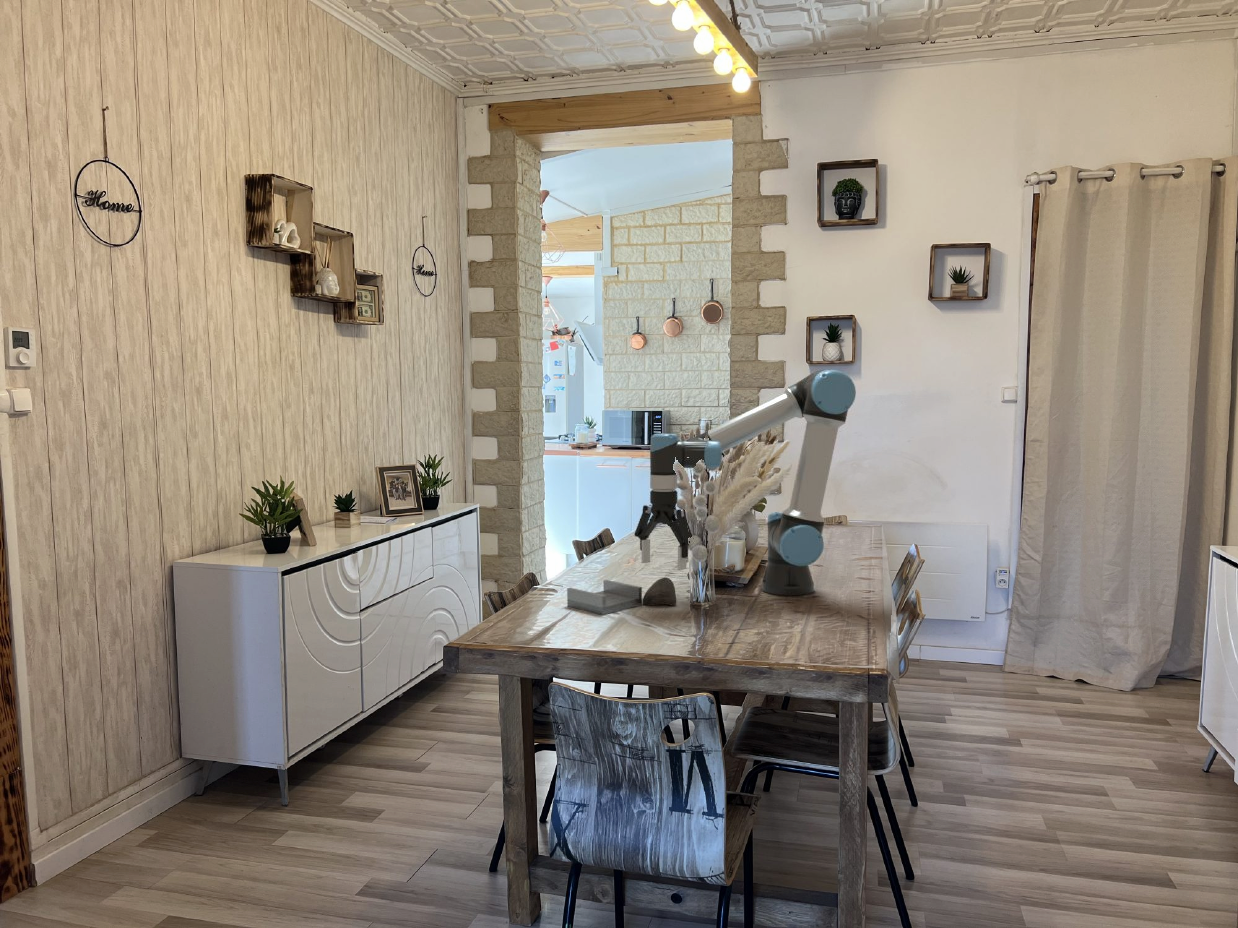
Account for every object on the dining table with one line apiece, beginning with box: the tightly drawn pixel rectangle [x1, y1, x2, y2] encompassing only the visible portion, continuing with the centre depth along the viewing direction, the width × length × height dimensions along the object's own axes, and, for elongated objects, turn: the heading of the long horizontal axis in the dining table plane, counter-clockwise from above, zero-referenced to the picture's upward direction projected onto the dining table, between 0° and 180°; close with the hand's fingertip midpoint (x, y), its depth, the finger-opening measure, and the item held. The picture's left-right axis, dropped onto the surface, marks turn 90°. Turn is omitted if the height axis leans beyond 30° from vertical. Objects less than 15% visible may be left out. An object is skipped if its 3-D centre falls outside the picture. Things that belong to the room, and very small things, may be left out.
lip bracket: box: [566, 579, 643, 616], centre depth 248 cm, size 14×15×5 cm
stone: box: [642, 577, 677, 607], centre depth 250 cm, size 10×8×10 cm
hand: (663, 566), depth 249 cm, fingers open, 13 cm apart
